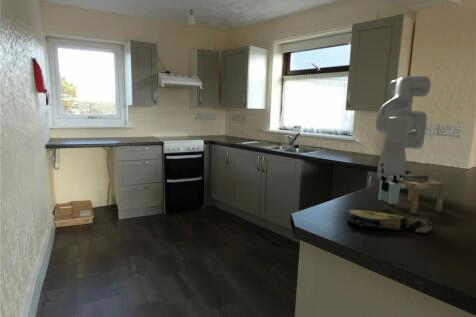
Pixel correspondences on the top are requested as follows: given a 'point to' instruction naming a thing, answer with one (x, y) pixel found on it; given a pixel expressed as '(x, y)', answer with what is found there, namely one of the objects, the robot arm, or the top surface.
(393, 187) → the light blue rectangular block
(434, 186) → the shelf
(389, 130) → the robot arm
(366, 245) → the top surface
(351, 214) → the pulley block
